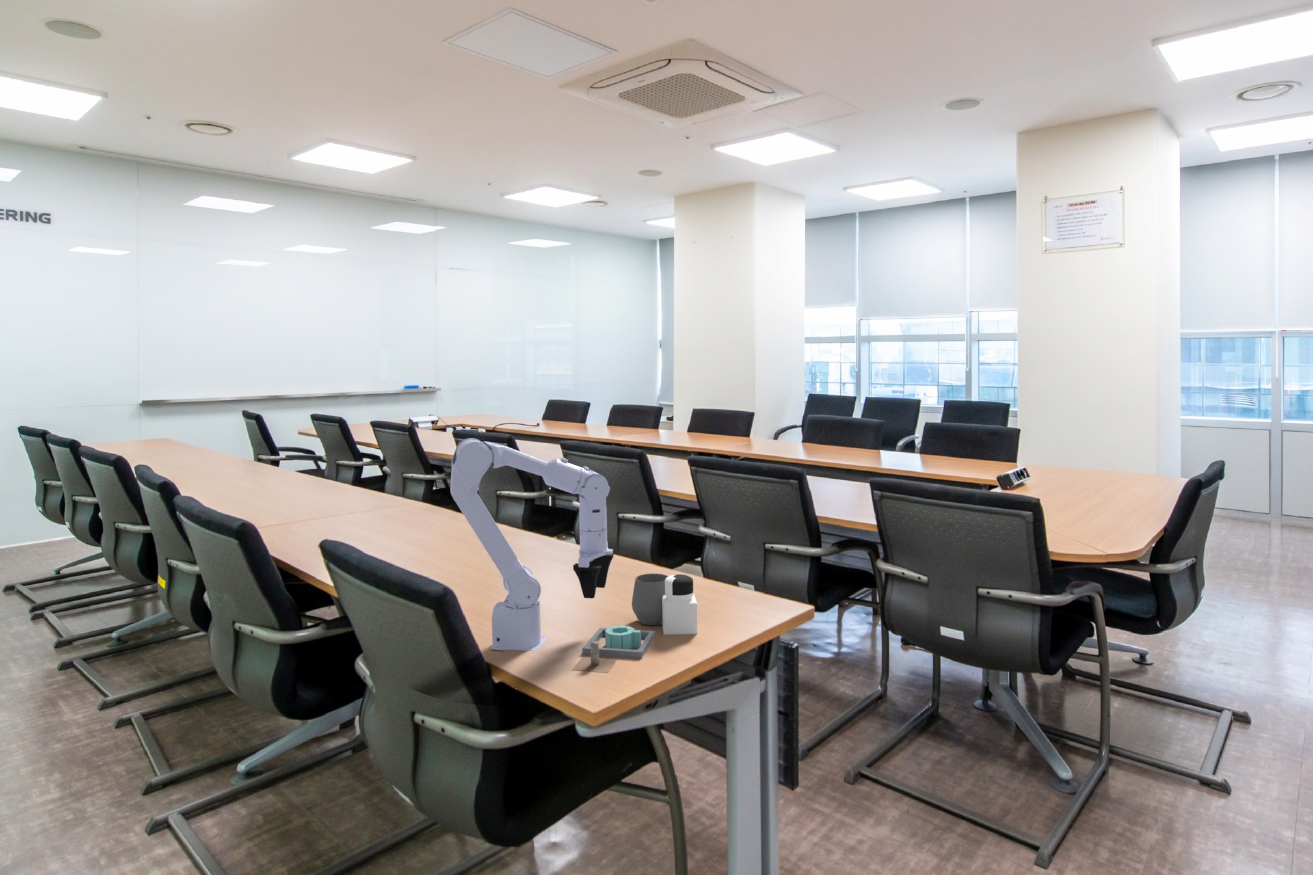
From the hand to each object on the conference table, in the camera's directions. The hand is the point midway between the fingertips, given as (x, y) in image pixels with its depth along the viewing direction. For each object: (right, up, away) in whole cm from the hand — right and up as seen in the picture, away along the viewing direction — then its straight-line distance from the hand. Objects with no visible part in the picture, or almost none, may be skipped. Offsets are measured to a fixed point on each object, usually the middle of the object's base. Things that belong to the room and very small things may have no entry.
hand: (594, 592), depth 161 cm
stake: (+1, -11, -16) cm, 20 cm away
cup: (+12, -9, +9) cm, 18 cm away
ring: (+6, -9, -7) cm, 13 cm away
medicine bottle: (+18, -9, +3) cm, 20 cm away
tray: (+6, -10, -7) cm, 13 cm away
